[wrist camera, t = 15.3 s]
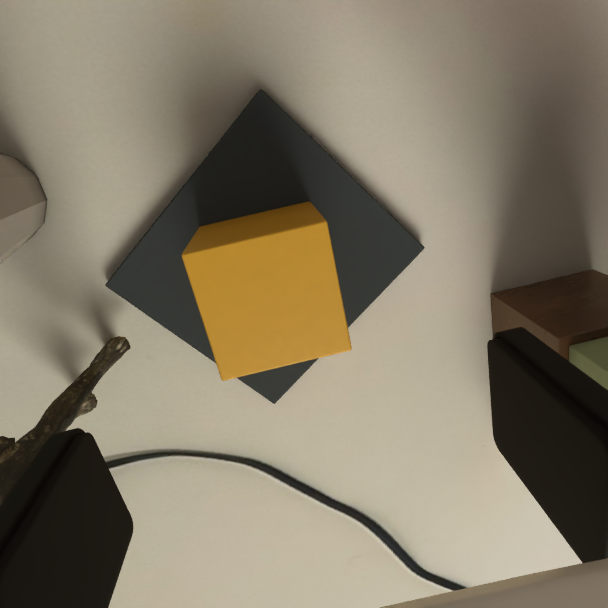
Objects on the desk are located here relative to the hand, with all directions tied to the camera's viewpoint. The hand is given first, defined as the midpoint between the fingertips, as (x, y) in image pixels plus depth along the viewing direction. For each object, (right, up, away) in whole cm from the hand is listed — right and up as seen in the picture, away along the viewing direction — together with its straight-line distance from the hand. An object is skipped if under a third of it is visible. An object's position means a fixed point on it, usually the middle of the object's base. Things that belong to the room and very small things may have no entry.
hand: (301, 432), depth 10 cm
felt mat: (-2, +5, +15) cm, 16 cm away
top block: (-2, +5, +14) cm, 15 cm away
